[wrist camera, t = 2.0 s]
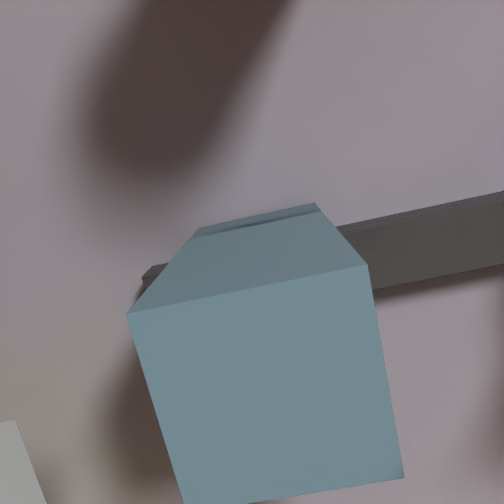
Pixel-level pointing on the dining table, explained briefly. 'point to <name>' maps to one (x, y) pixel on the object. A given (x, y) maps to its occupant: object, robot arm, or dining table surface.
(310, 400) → the block
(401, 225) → the rail
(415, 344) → the dining table surface
